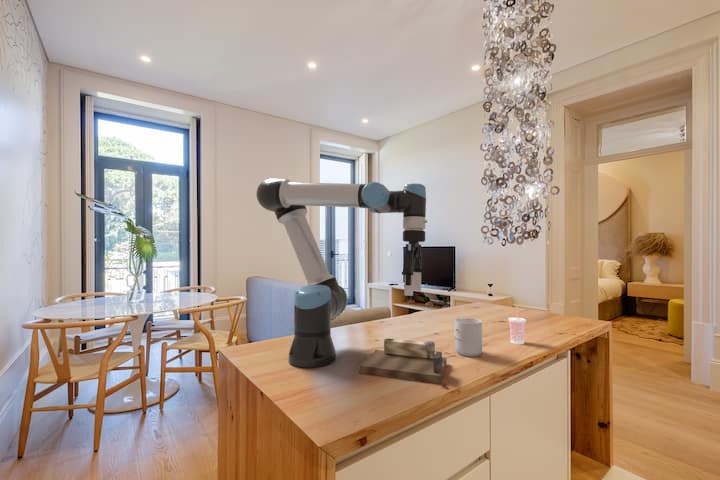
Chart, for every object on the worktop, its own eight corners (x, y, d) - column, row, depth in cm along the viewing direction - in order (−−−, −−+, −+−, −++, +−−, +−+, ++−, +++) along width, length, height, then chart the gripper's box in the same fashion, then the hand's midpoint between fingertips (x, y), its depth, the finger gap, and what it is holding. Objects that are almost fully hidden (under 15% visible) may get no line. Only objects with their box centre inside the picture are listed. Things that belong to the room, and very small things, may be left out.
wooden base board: (359, 372, 96) (359, 351, 96) (375, 355, 111) (375, 337, 111) (440, 383, 88) (440, 360, 88) (446, 364, 103) (446, 344, 103)
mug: (488, 355, 111) (487, 322, 111) (466, 358, 108) (465, 324, 108) (465, 345, 122) (465, 315, 123) (444, 348, 119) (444, 317, 119)
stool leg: (435, 355, 104) (435, 341, 104) (433, 358, 101) (433, 344, 101) (385, 350, 109) (385, 336, 109) (382, 353, 106) (382, 339, 106)
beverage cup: (518, 339, 130) (517, 304, 131) (530, 344, 124) (529, 306, 125) (505, 340, 129) (504, 304, 129) (516, 345, 123) (515, 307, 123)
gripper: (418, 227, 99) (416, 298, 99) (431, 231, 122) (430, 289, 122) (393, 227, 102) (392, 297, 101) (410, 231, 125) (409, 288, 125)
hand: (413, 293), depth 112 cm, fingers open, 13 cm apart
